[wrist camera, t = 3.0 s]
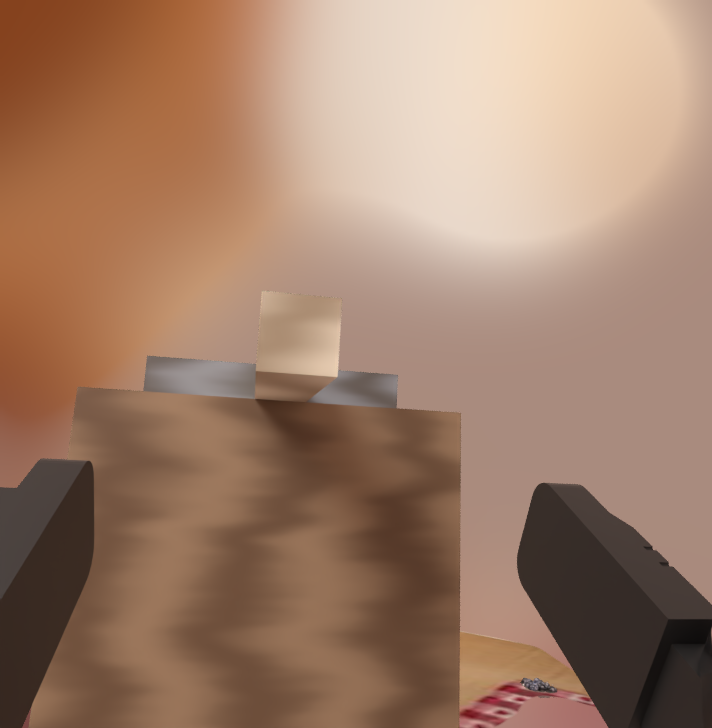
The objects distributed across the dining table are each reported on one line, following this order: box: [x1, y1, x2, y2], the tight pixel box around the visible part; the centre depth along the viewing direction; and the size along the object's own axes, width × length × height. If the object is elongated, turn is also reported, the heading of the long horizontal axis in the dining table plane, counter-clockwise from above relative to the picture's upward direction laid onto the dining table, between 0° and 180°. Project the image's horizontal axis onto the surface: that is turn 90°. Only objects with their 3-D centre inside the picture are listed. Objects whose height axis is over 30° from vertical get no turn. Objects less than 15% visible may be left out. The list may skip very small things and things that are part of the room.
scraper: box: [144, 291, 398, 408], centre depth 29 cm, size 16×25×4 cm, turn 10°
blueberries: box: [520, 678, 557, 698], centre depth 84 cm, size 7×8×2 cm
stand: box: [29, 387, 461, 728], centre depth 31 cm, size 18×15×32 cm
